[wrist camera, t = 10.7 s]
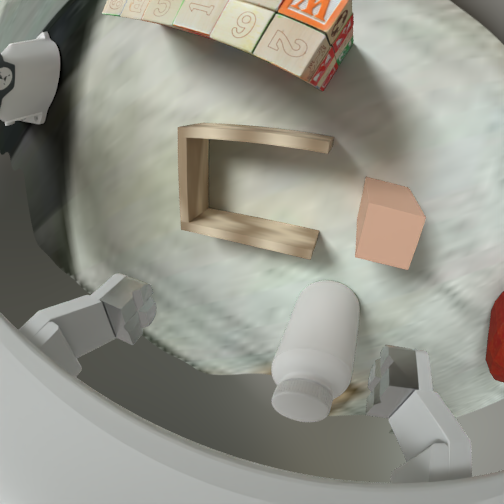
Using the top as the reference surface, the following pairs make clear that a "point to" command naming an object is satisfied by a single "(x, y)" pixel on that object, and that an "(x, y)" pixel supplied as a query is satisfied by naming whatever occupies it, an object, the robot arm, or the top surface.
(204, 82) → the top surface
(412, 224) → the terracotta block
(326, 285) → the pill bottle
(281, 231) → the oak u-shaped frame
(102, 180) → the top surface
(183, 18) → the stack of blocks
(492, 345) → the apple
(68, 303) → the robot arm
